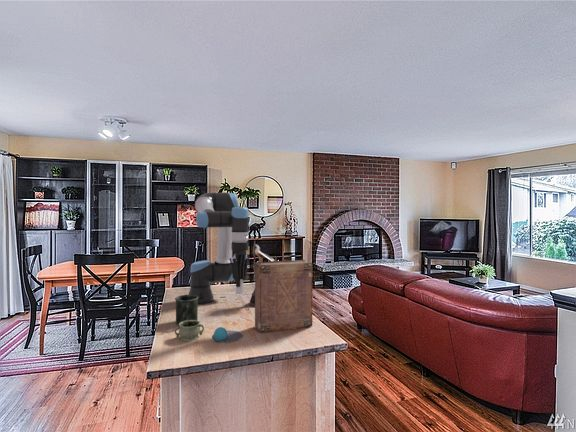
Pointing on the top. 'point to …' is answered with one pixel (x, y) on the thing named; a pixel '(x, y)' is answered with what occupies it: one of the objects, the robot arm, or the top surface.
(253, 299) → the bird statue
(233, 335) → the disc
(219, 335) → the ball
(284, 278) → the book
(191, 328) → the vessel
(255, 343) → the top surface
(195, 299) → the mug
